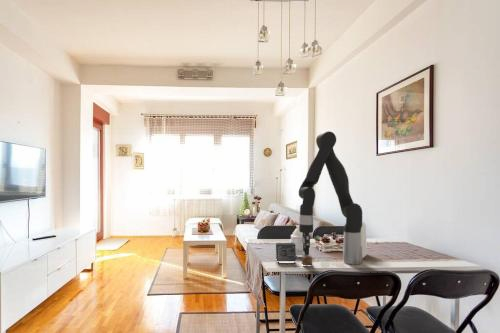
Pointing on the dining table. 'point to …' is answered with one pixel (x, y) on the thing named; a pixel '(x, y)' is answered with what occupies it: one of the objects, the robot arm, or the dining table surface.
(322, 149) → the robot arm
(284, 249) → the small box
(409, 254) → the dining table surface
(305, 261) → the walnut cube
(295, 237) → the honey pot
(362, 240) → the milk
